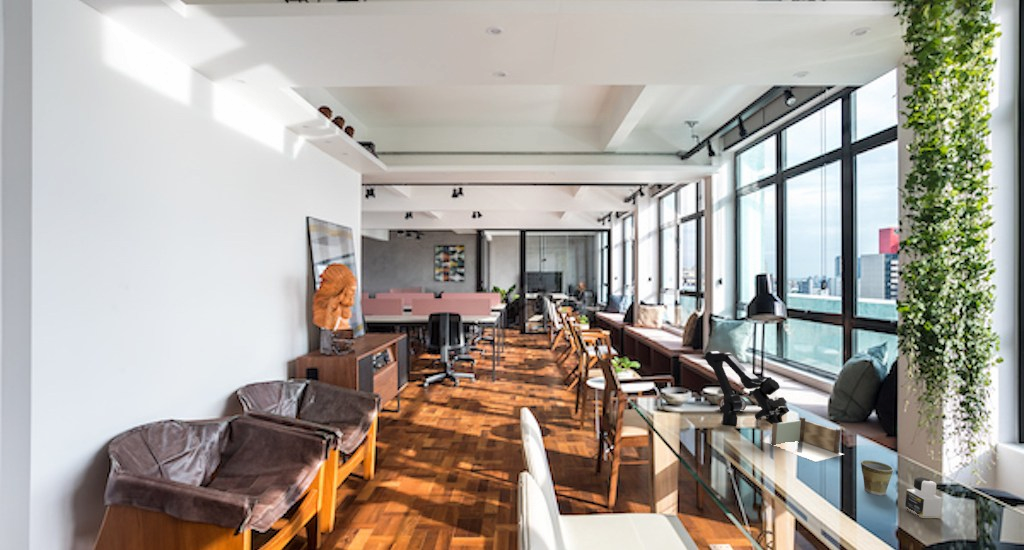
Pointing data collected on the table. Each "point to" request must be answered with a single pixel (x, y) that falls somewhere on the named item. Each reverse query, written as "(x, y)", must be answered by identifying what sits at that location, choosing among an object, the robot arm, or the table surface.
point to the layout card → (814, 452)
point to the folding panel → (785, 432)
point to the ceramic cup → (876, 476)
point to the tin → (721, 403)
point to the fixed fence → (820, 435)
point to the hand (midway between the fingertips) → (782, 429)
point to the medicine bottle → (924, 498)
